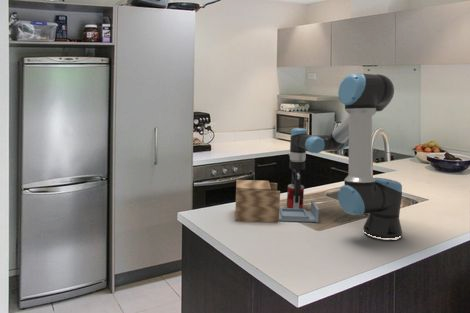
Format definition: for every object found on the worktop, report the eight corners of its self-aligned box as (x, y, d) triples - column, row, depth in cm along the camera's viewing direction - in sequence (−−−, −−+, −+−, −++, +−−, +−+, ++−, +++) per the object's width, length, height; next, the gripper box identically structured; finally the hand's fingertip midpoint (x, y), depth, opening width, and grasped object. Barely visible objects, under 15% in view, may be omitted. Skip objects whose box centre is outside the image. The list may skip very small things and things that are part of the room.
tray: (314, 213, 199) (315, 200, 198) (320, 222, 186) (321, 209, 185) (271, 211, 199) (272, 199, 198) (274, 220, 186) (274, 207, 185)
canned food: (291, 204, 213) (293, 183, 211) (305, 207, 208) (307, 185, 206) (283, 207, 207) (284, 185, 205) (297, 211, 202) (298, 188, 200)
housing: (275, 211, 200) (277, 181, 197) (278, 222, 185) (280, 189, 182) (235, 210, 200) (236, 179, 197) (235, 221, 185) (236, 187, 182)
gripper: (287, 156, 214) (284, 199, 218) (292, 164, 193) (289, 212, 197) (301, 156, 214) (299, 200, 218) (308, 165, 193) (305, 212, 197)
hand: (294, 206), depth 207 cm, fingers closed on canned food, 8 cm apart
